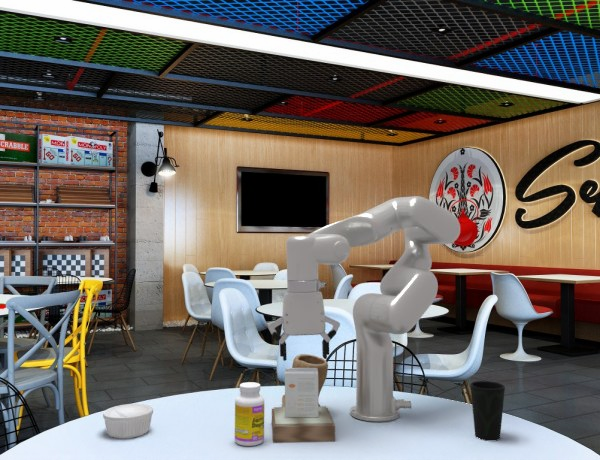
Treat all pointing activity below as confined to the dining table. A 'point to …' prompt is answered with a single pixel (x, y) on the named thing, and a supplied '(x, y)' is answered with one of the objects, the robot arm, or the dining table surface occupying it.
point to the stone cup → (311, 362)
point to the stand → (302, 427)
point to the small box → (301, 392)
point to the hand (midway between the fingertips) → (304, 358)
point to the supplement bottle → (249, 415)
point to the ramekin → (128, 420)
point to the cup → (487, 408)
